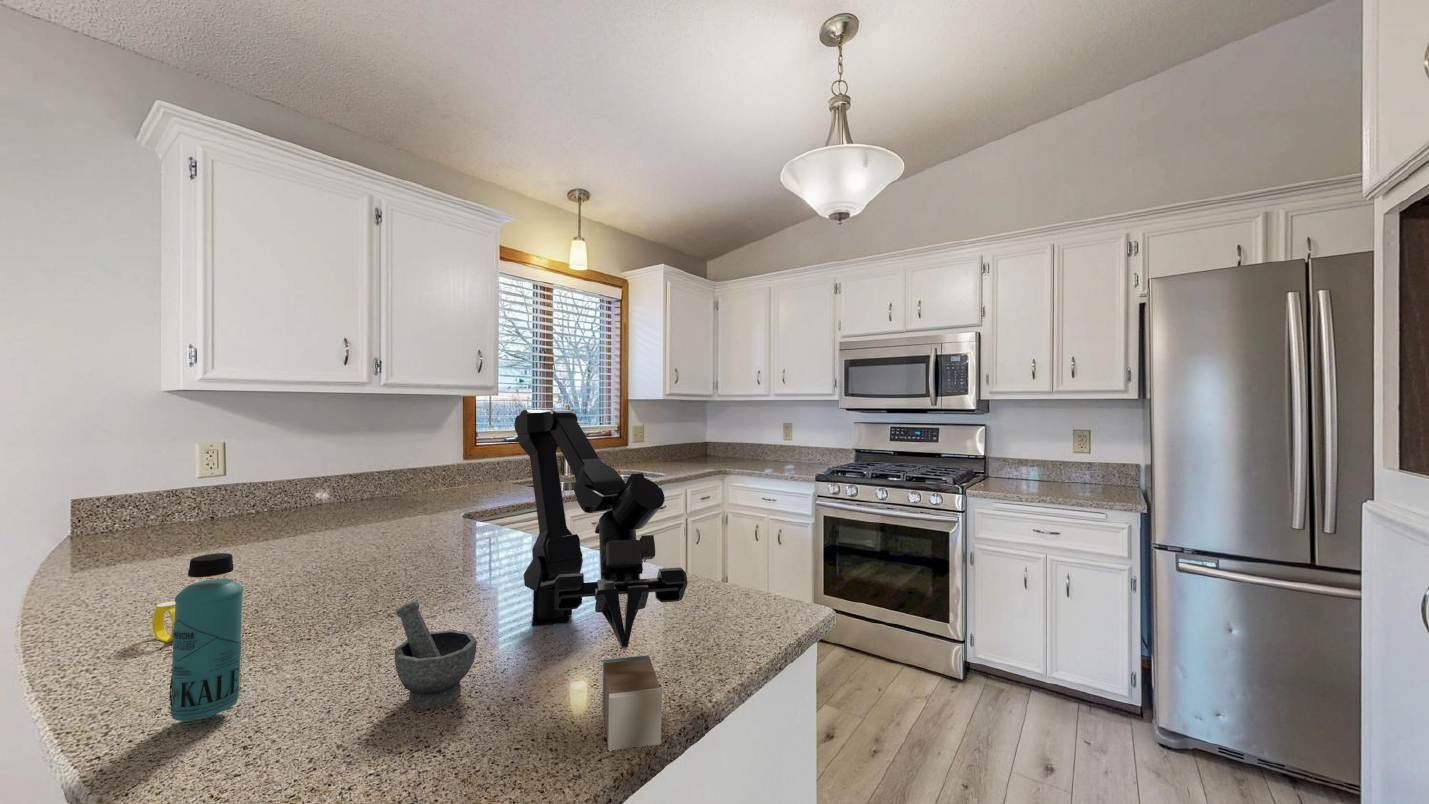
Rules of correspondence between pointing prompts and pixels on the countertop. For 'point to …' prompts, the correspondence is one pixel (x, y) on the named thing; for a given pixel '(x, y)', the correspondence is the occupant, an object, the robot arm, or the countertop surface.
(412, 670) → the mortar and pestle
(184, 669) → the beverage bottle
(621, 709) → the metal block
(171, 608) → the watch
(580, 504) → the robot arm
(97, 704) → the countertop surface
